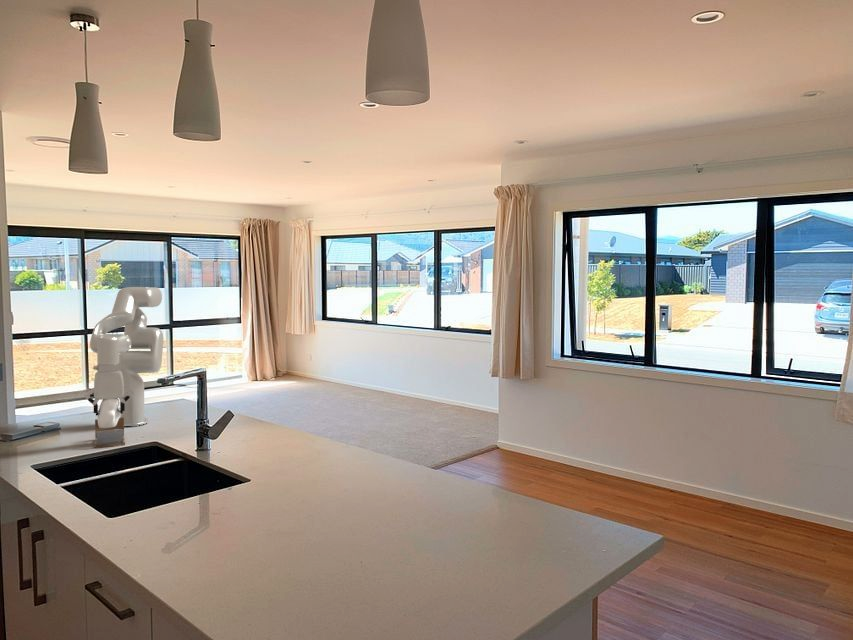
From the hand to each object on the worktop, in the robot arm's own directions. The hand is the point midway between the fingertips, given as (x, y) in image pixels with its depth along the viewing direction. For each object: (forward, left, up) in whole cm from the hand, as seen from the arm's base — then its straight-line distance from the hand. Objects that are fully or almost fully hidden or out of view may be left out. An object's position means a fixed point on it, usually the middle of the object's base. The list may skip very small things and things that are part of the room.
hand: (109, 413), depth 237 cm
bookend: (+4, 0, -10) cm, 11 cm away
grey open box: (0, 0, -11) cm, 11 cm away
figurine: (0, 0, -5) cm, 5 cm away
